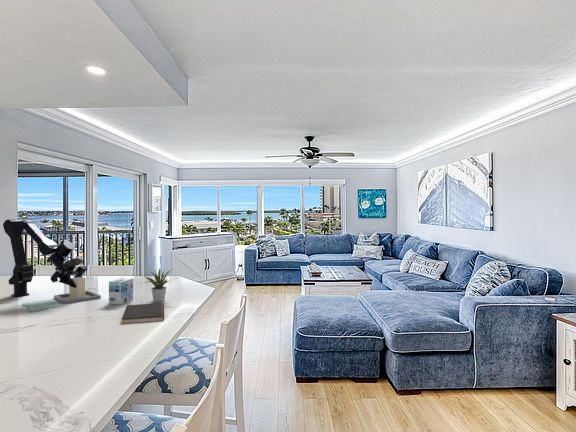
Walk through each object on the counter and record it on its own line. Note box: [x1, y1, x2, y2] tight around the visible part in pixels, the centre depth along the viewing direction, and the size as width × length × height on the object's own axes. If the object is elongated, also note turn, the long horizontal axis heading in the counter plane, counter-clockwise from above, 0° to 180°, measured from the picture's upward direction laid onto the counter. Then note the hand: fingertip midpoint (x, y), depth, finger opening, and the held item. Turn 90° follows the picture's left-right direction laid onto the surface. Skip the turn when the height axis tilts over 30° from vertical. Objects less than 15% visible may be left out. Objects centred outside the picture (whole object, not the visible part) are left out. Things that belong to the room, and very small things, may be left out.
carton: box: [68, 276, 86, 299], centre depth 191 cm, size 5×5×10 cm
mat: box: [21, 299, 63, 313], centre depth 177 cm, size 16×12×1 cm
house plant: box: [144, 268, 175, 303], centre depth 192 cm, size 14×14×16 cm
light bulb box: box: [108, 277, 135, 305], centre depth 187 cm, size 11×7×11 cm, turn 168°
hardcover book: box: [121, 302, 165, 324], centre depth 166 cm, size 16×23×2 cm
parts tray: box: [53, 290, 102, 305], centre depth 191 cm, size 16×16×2 cm
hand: (79, 286), depth 191 cm, fingers closed on carton, 5 cm apart
